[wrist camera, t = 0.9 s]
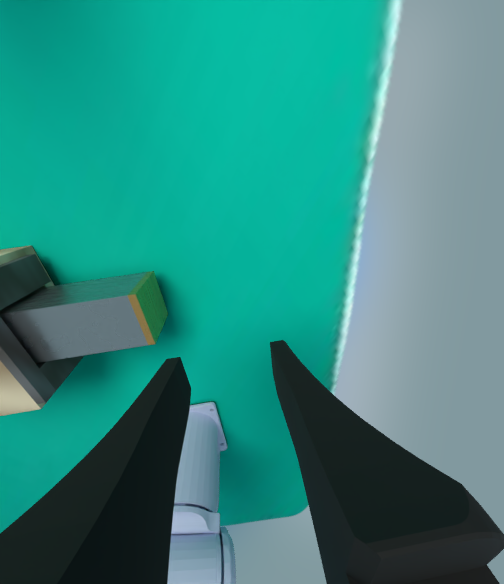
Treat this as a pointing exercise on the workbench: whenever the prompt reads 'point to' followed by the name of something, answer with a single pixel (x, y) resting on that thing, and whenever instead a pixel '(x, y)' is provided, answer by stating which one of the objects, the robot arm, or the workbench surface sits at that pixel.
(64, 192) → the workbench surface
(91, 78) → the workbench surface
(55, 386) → the sleeve
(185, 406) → the robot arm
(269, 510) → the workbench surface
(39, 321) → the peg
